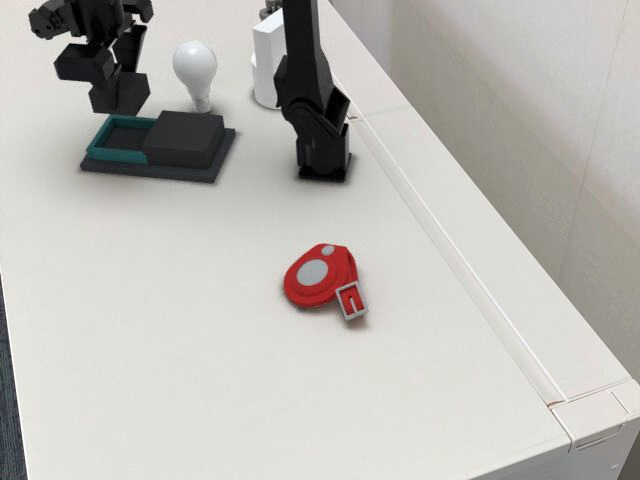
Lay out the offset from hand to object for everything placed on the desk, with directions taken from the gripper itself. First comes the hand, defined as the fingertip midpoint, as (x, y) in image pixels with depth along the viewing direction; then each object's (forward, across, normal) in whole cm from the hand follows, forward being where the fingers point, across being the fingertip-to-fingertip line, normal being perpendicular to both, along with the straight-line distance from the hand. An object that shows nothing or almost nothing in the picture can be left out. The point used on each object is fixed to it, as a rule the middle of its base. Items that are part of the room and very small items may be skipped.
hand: (121, 96), depth 104 cm
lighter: (+9, -29, +16) cm, 34 cm away
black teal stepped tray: (+8, 0, +4) cm, 9 cm away
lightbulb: (+9, -11, +7) cm, 16 cm away
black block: (+1, 0, 0) cm, 1 cm away
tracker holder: (+9, +25, +33) cm, 42 cm away
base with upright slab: (+9, -18, +18) cm, 27 cm away
